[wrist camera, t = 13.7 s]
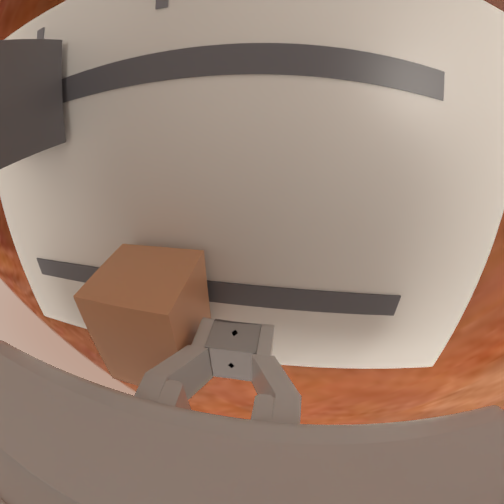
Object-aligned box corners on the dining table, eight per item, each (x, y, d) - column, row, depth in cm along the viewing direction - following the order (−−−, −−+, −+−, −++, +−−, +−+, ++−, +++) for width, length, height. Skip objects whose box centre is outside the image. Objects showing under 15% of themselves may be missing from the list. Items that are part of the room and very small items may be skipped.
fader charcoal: (62, 39, 8) (-7, 40, 4) (66, 142, 10) (-1, 169, 7) (13, 65, 8) (-46, 76, 5) (19, 153, 11) (-37, 179, 7)
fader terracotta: (203, 250, 12) (168, 315, 8) (212, 334, 14) (191, 398, 11) (122, 243, 12) (73, 296, 9) (144, 323, 15) (113, 378, 12)
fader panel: (494, 24, 6) (518, 20, 4) (425, 344, 16) (432, 367, 14) (9, 50, 10) (-14, 52, 8) (57, 300, 20) (43, 316, 18)
